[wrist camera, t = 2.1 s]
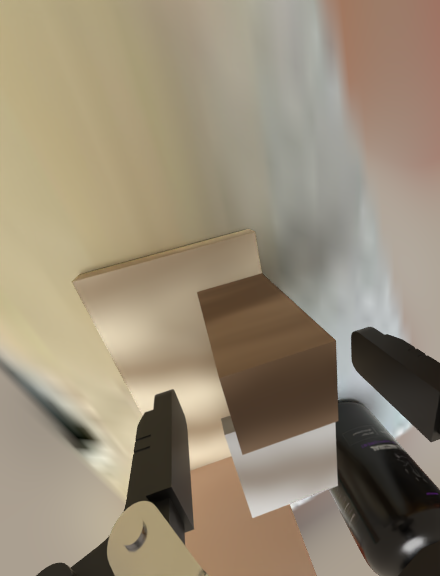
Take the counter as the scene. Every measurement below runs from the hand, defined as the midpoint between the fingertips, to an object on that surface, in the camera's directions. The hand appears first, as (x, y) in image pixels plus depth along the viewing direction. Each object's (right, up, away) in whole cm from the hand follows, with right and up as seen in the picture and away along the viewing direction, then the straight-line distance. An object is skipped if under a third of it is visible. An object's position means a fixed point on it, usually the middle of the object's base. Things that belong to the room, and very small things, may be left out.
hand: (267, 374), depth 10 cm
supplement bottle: (+9, -9, +13) cm, 18 cm away
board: (-2, -6, +9) cm, 11 cm away
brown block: (0, -1, +6) cm, 6 cm away
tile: (-2, -11, +10) cm, 15 cm away
